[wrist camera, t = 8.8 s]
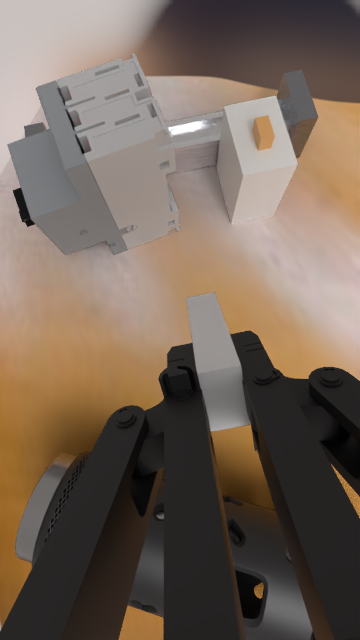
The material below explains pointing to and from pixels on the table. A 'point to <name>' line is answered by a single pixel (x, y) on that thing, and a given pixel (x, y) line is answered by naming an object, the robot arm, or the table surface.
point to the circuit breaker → (98, 162)
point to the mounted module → (254, 159)
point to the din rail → (204, 130)
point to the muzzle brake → (148, 587)
